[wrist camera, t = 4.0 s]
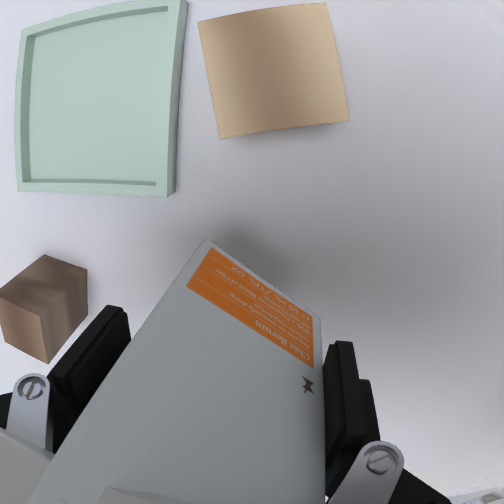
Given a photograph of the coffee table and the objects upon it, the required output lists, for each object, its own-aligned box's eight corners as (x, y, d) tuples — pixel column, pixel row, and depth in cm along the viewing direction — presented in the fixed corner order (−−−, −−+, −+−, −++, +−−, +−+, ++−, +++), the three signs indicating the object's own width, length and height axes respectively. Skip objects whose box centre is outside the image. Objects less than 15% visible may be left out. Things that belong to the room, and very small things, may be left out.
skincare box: (323, 313, 14) (329, 621, 3) (264, 368, 15) (220, 614, 4) (205, 230, 13) (5, 532, 2) (158, 300, 15) (14, 534, 4)
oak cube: (313, 32, 14) (325, 2, 9) (329, 119, 16) (349, 121, 11) (219, 46, 15) (197, 22, 10) (236, 133, 17) (220, 139, 12)
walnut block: (87, 269, 21) (39, 316, 15) (87, 314, 22) (48, 364, 17) (44, 254, 20) (-7, 293, 15) (47, 298, 22) (4, 341, 17)
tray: (188, 3, 13) (181, -5, 12) (175, 191, 18) (166, 197, 17) (35, 32, 14) (21, 29, 13) (31, 185, 18) (17, 191, 17)
